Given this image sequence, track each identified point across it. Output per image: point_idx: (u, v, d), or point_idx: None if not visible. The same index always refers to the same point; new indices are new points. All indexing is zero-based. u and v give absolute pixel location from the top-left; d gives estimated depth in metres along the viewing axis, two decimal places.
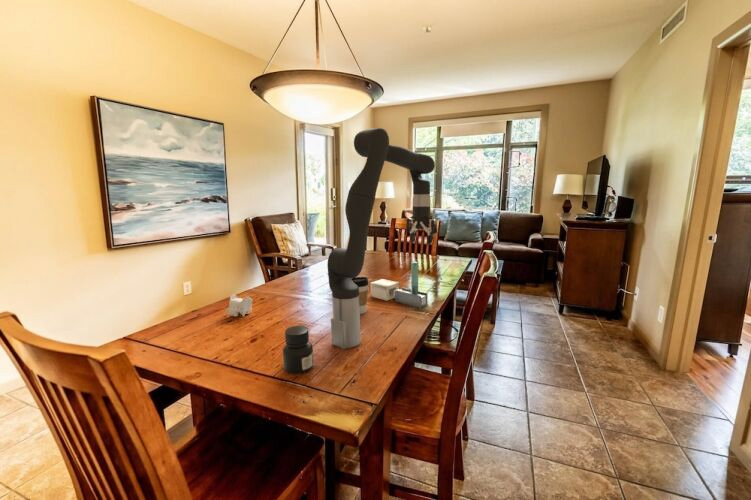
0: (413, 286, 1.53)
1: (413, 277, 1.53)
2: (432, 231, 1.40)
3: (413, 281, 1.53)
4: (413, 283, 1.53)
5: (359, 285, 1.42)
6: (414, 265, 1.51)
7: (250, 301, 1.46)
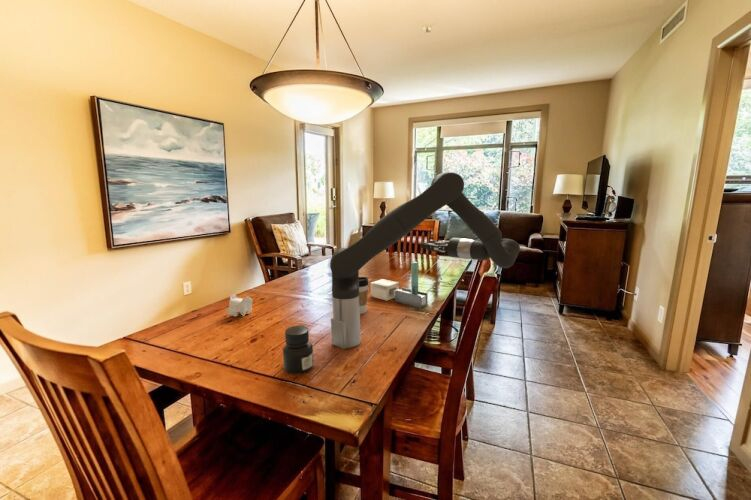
0: (413, 286, 1.53)
1: (413, 277, 1.53)
2: (429, 244, 1.31)
3: (413, 281, 1.53)
4: (413, 283, 1.53)
5: (359, 285, 1.42)
6: (414, 265, 1.51)
7: (250, 301, 1.46)
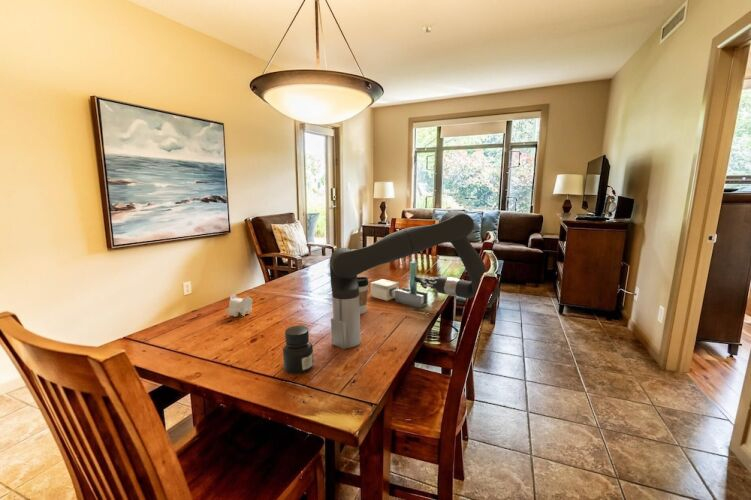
0: (412, 286, 1.54)
1: (411, 277, 1.53)
2: (422, 280, 1.48)
3: (411, 281, 1.54)
4: (412, 283, 1.54)
5: (359, 285, 1.42)
6: (412, 265, 1.52)
7: (250, 301, 1.46)
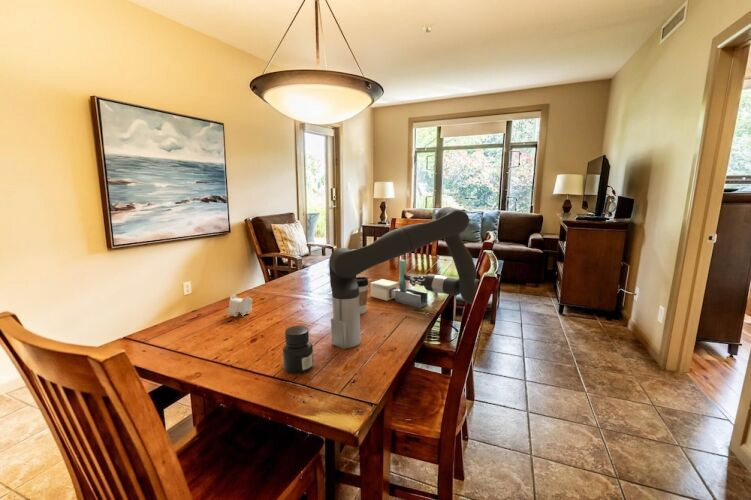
0: (401, 283, 1.58)
1: (401, 275, 1.57)
2: (411, 277, 1.52)
3: (401, 279, 1.57)
4: (401, 281, 1.58)
5: (359, 285, 1.42)
6: (402, 263, 1.56)
7: (250, 301, 1.46)
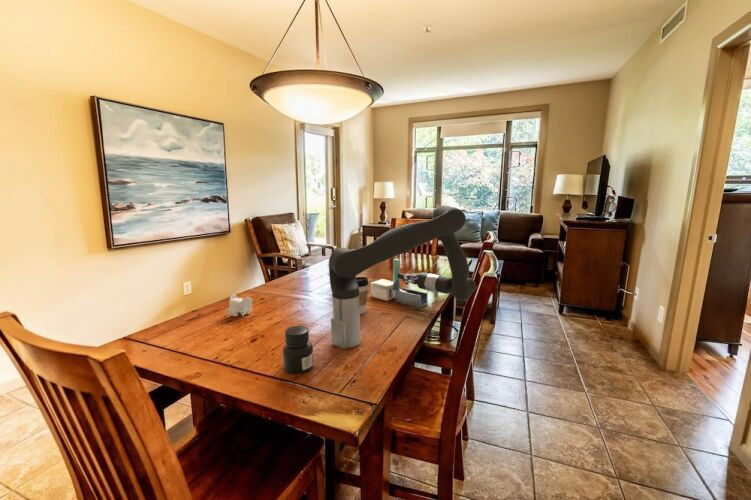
0: (395, 282, 1.60)
1: (395, 273, 1.60)
2: (404, 276, 1.54)
3: (395, 277, 1.60)
4: (395, 279, 1.60)
5: (359, 285, 1.42)
6: (395, 262, 1.58)
7: (250, 301, 1.46)
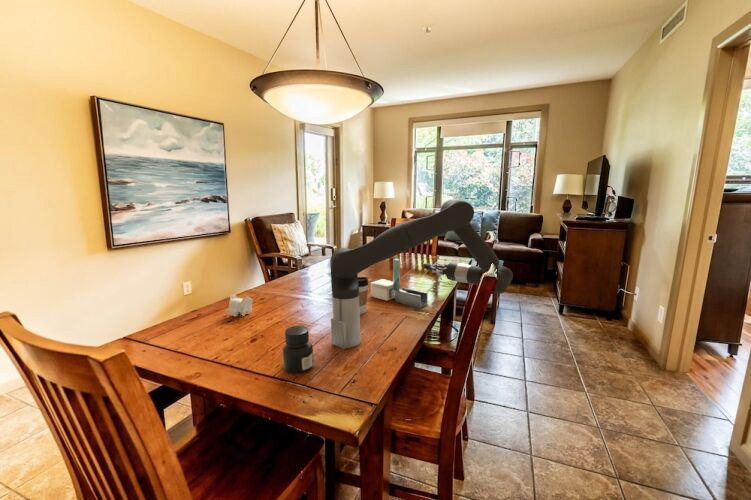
0: (395, 282, 1.60)
1: (395, 273, 1.60)
2: (431, 266, 1.42)
3: (395, 277, 1.60)
4: (395, 279, 1.60)
5: (359, 285, 1.42)
6: (395, 262, 1.58)
7: (250, 301, 1.46)
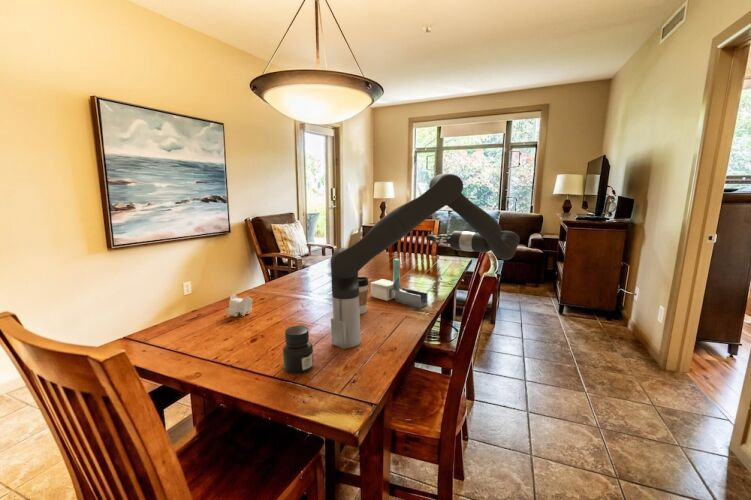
0: (395, 282, 1.60)
1: (395, 273, 1.60)
2: (434, 236, 1.38)
3: (395, 277, 1.60)
4: (395, 279, 1.60)
5: (359, 285, 1.42)
6: (395, 262, 1.58)
7: (250, 301, 1.46)
